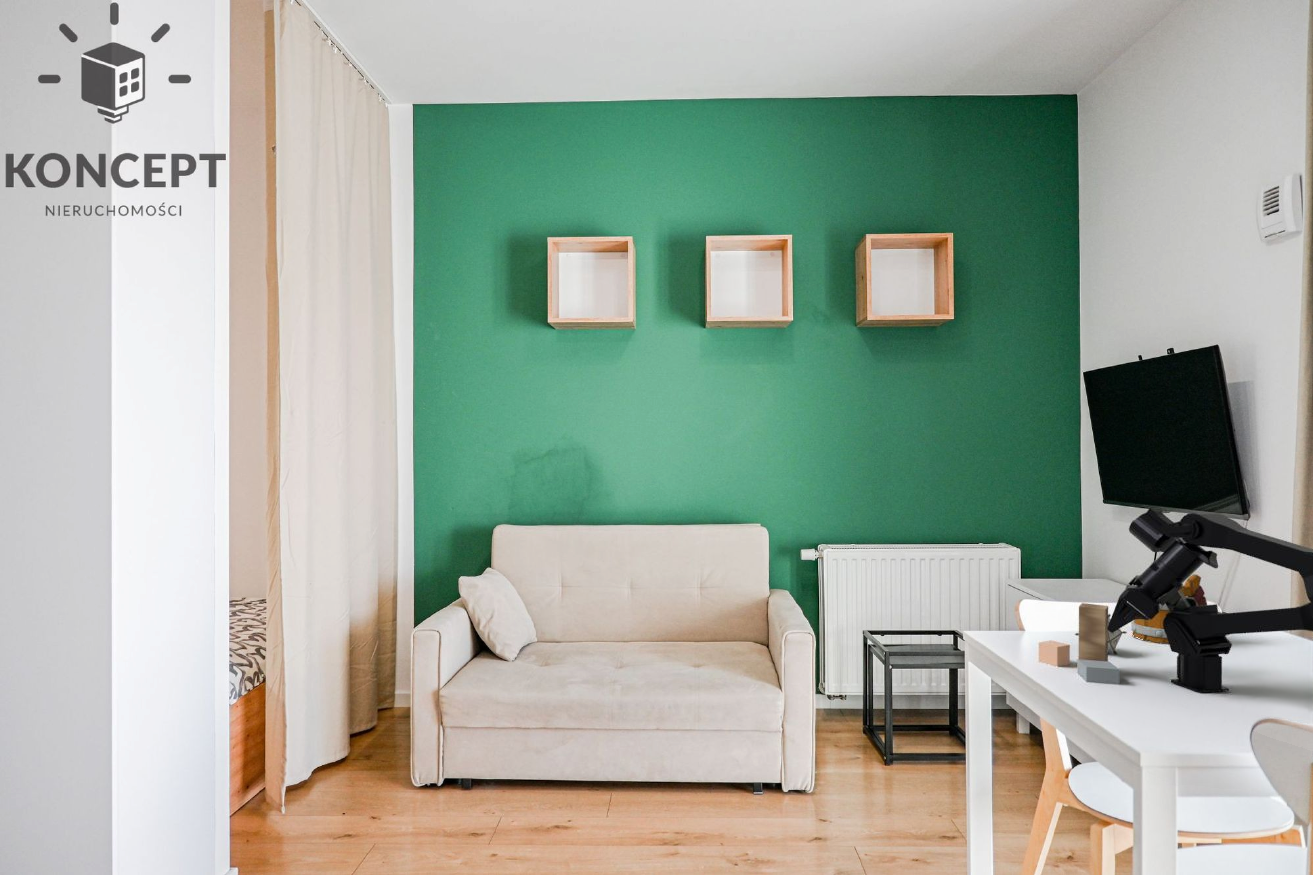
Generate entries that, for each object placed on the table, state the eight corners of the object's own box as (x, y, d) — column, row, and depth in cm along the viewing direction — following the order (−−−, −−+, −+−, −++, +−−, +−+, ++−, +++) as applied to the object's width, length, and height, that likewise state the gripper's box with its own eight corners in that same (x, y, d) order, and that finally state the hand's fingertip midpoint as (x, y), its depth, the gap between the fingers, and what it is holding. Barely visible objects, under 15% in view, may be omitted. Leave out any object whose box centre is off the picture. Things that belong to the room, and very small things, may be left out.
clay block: (1069, 664, 157) (1069, 644, 157) (1057, 667, 155) (1057, 646, 155) (1051, 659, 160) (1051, 640, 161) (1038, 662, 158) (1038, 642, 159)
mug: (1119, 633, 186) (1120, 569, 186) (1191, 634, 185) (1191, 571, 186) (1146, 644, 175) (1146, 576, 175) (1222, 646, 174) (1222, 578, 175)
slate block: (1108, 677, 149) (1109, 661, 149) (1119, 685, 144) (1119, 669, 144) (1077, 675, 150) (1077, 659, 150) (1086, 683, 145) (1086, 666, 145)
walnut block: (1107, 670, 153) (1108, 605, 153) (1105, 675, 149) (1105, 609, 150) (1081, 666, 156) (1082, 602, 156) (1078, 671, 152) (1078, 606, 152)
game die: (1102, 667, 169) (1121, 628, 171) (1120, 663, 161) (1140, 622, 163) (1062, 643, 171) (1081, 605, 174) (1078, 638, 163) (1098, 598, 166)
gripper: (1212, 607, 136) (1146, 669, 141) (1213, 591, 151) (1153, 647, 156) (1153, 562, 141) (1091, 623, 146) (1160, 551, 156) (1103, 607, 161)
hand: (1112, 626), depth 152 cm, fingers open, 9 cm apart
